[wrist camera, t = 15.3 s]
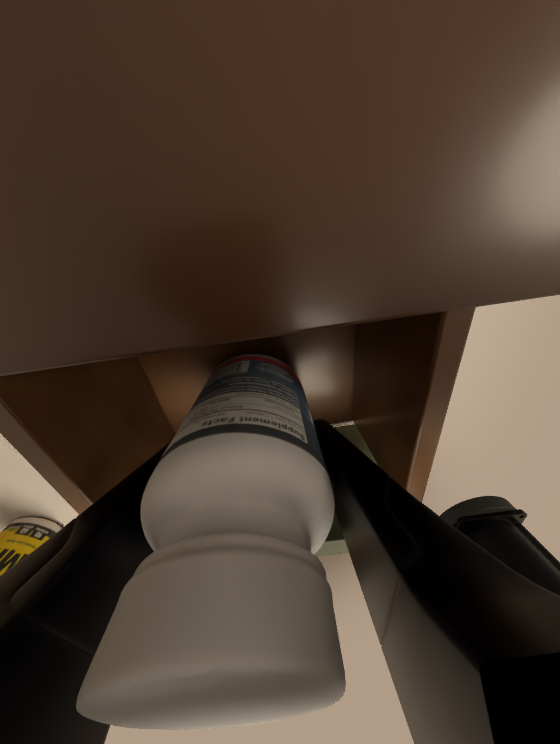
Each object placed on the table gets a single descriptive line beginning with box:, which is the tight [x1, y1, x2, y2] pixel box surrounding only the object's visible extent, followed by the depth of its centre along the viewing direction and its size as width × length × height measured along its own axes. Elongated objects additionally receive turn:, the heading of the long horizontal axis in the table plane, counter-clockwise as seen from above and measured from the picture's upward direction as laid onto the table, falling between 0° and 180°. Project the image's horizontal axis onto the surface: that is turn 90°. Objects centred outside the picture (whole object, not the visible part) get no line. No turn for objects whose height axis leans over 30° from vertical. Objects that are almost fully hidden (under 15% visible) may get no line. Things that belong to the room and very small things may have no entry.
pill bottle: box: [76, 354, 346, 730], centre depth 7 cm, size 5×5×9 cm
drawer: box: [0, 307, 476, 557], centre depth 10 cm, size 19×14×7 cm
